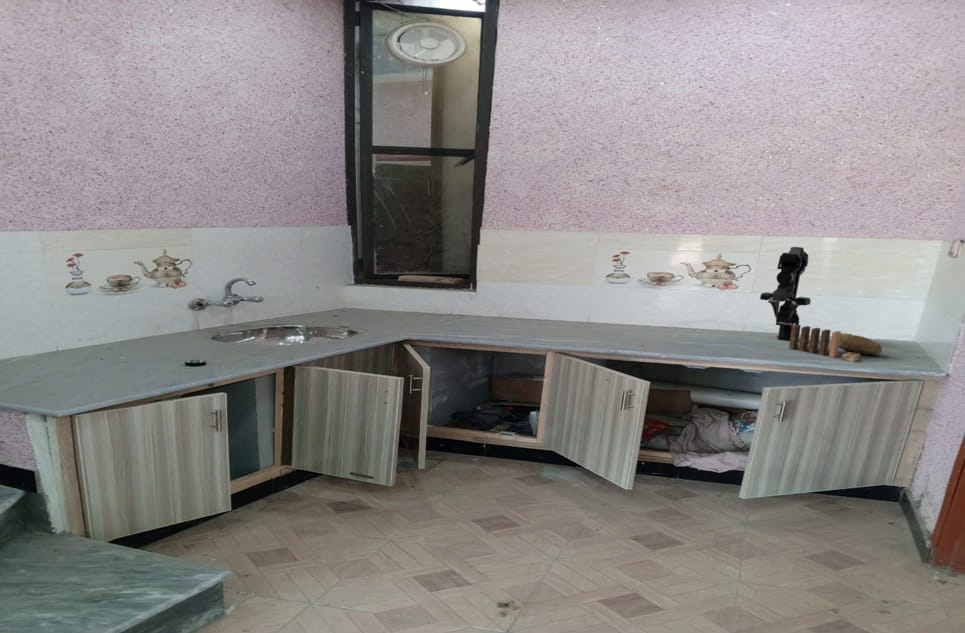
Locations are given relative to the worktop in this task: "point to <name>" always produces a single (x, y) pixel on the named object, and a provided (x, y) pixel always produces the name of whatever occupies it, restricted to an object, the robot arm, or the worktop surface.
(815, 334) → the domino
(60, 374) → the worktop surface
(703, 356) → the worktop surface
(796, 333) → the brown rectangular block
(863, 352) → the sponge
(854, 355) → the stop block
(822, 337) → the domino
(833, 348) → the domino
